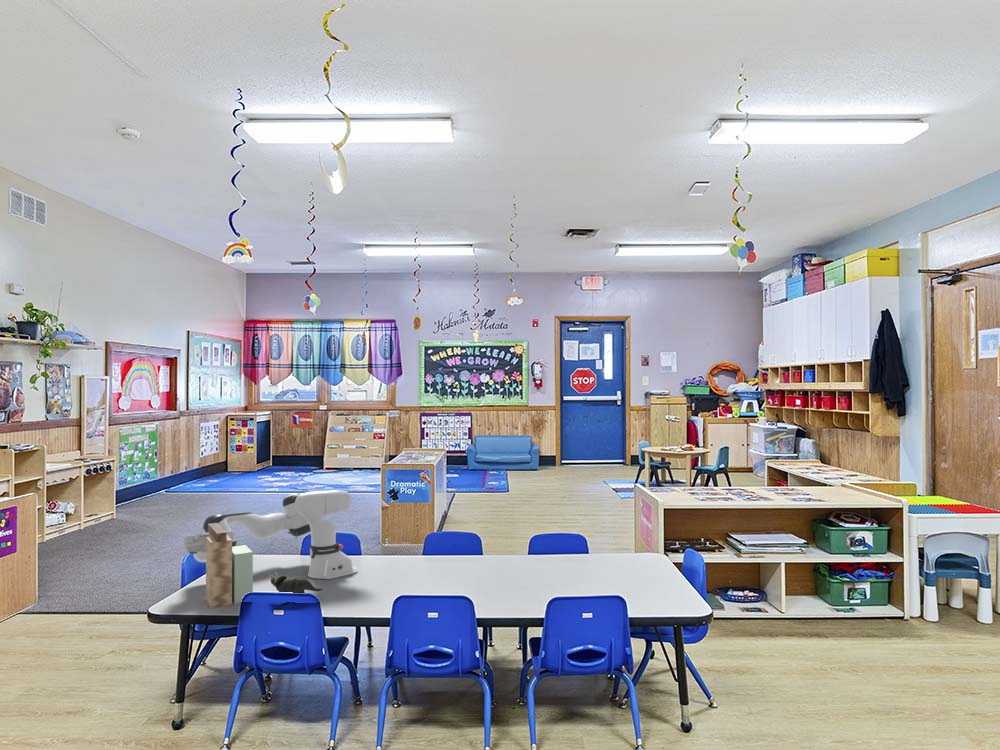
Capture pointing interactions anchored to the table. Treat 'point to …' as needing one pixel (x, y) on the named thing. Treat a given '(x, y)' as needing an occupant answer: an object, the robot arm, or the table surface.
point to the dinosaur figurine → (292, 584)
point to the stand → (218, 572)
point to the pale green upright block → (241, 572)
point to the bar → (217, 532)
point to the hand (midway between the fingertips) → (212, 533)
